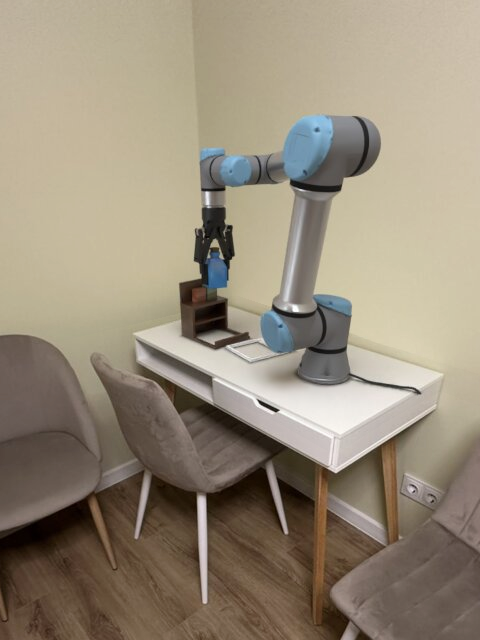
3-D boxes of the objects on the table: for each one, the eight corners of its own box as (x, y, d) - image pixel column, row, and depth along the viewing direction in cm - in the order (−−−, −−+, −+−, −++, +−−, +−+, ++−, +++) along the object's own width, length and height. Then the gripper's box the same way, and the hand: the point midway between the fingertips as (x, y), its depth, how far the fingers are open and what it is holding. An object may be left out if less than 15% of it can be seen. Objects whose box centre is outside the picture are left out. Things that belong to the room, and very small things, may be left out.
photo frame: (295, 347, 157) (250, 358, 149) (294, 350, 158) (250, 362, 150) (269, 335, 168) (226, 345, 160) (269, 338, 168) (226, 348, 161)
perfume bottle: (203, 284, 159) (202, 247, 153) (221, 283, 160) (220, 245, 154) (209, 289, 154) (208, 250, 147) (227, 287, 155) (226, 248, 149)
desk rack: (249, 338, 169) (250, 284, 159) (215, 349, 160) (214, 293, 150) (215, 325, 181) (214, 275, 172) (181, 335, 172) (178, 282, 163)
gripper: (231, 203, 153) (231, 275, 164) (178, 208, 142) (183, 285, 153) (246, 204, 148) (246, 279, 159) (193, 209, 137) (197, 289, 148)
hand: (215, 282), depth 156 cm, fingers closed on perfume bottle, 8 cm apart
